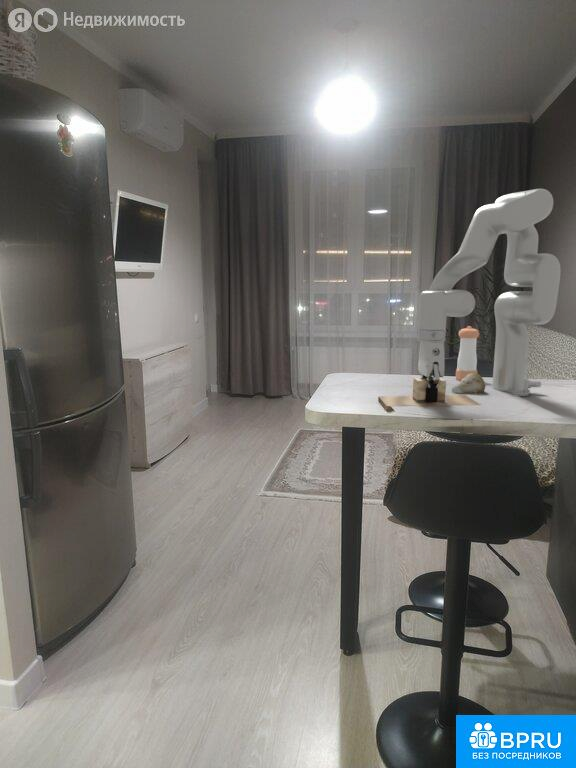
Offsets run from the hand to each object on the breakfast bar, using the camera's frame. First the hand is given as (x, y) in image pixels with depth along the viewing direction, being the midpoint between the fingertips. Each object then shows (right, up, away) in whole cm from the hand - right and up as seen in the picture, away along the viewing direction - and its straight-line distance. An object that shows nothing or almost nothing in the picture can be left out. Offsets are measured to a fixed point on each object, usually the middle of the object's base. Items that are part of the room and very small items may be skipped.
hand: (428, 398), depth 147 cm
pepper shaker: (+24, +6, +38) cm, 46 cm away
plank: (0, -2, 0) cm, 2 cm away
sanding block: (0, 0, 0) cm, 0 cm away
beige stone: (+15, 0, +12) cm, 19 cm away
